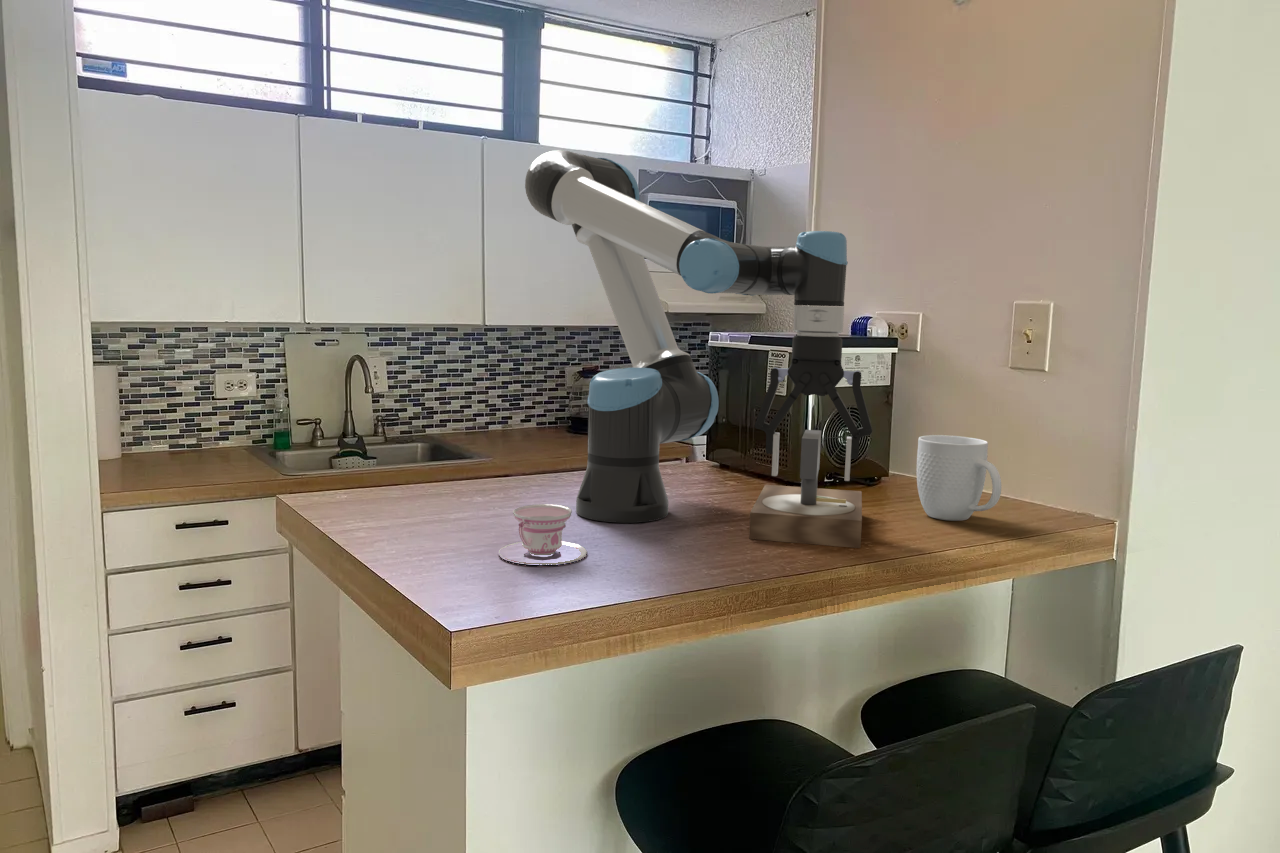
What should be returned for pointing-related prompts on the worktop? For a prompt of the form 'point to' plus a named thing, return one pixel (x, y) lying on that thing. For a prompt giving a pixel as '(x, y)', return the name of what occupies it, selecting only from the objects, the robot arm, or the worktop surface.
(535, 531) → the teacup
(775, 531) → the tuner board
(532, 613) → the worktop surface
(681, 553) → the worktop surface
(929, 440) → the mug
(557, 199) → the robot arm
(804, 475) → the peg knob
